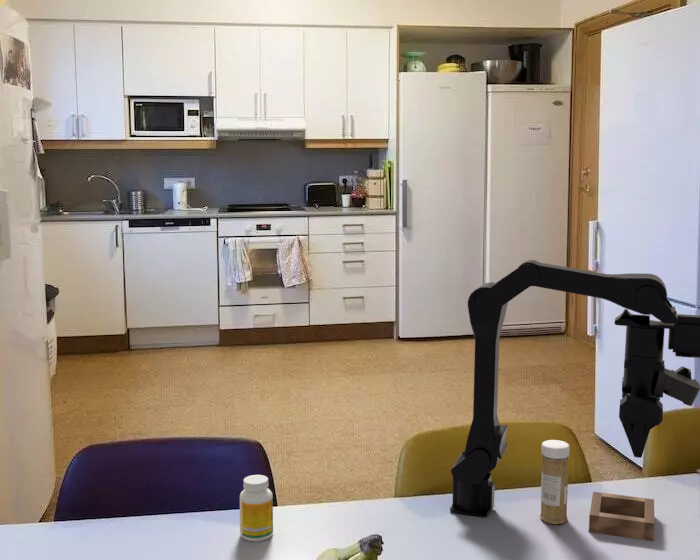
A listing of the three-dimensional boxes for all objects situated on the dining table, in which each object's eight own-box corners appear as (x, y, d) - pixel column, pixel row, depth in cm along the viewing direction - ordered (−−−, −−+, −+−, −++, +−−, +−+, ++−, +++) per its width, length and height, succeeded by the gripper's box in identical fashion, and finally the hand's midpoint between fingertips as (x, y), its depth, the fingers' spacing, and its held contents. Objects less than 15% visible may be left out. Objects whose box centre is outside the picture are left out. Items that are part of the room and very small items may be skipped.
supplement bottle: (236, 531, 134) (234, 476, 133) (266, 525, 137) (265, 470, 135) (246, 545, 130) (245, 487, 128) (278, 538, 132) (277, 481, 130)
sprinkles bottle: (572, 520, 138) (575, 444, 136) (554, 527, 135) (556, 449, 133) (552, 511, 142) (554, 437, 140) (533, 517, 139) (535, 442, 137)
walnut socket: (588, 532, 134) (589, 514, 133) (592, 507, 143) (593, 491, 142) (653, 541, 130) (654, 523, 130) (653, 516, 140) (654, 499, 139)
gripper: (702, 372, 118) (695, 474, 121) (695, 345, 136) (689, 435, 138) (621, 365, 122) (616, 465, 124) (624, 340, 139) (619, 427, 142)
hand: (638, 447), depth 132 cm, fingers open, 9 cm apart
